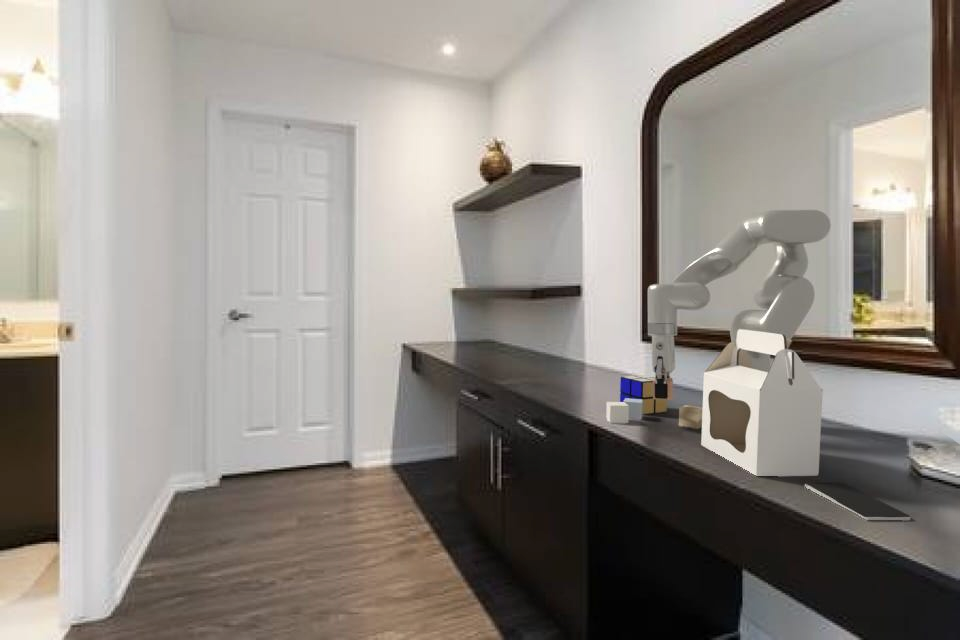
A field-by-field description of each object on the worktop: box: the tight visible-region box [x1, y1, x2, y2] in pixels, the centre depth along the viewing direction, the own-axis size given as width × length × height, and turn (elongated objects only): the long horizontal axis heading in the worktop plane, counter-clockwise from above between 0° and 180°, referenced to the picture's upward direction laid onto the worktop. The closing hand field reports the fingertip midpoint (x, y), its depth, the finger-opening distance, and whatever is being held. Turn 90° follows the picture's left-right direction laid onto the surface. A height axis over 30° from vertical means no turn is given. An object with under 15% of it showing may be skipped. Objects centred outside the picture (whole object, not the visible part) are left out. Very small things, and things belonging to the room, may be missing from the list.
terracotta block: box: [653, 377, 674, 401], centre depth 145 cm, size 5×5×5 cm
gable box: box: [700, 329, 824, 477], centre depth 116 cm, size 22×13×28 cm, turn 5°
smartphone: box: [804, 481, 911, 521], centre depth 93 cm, size 8×1×15 cm
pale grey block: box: [605, 401, 629, 424], centre depth 149 cm, size 5×5×5 cm
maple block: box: [678, 404, 703, 430], centre depth 145 cm, size 5×5×5 cm
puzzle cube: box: [619, 374, 668, 416], centre depth 163 cm, size 10×10×10 cm
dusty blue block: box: [623, 398, 643, 421], centre depth 154 cm, size 5×5×5 cm
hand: (662, 395), depth 145 cm, fingers closed on terracotta block, 5 cm apart
